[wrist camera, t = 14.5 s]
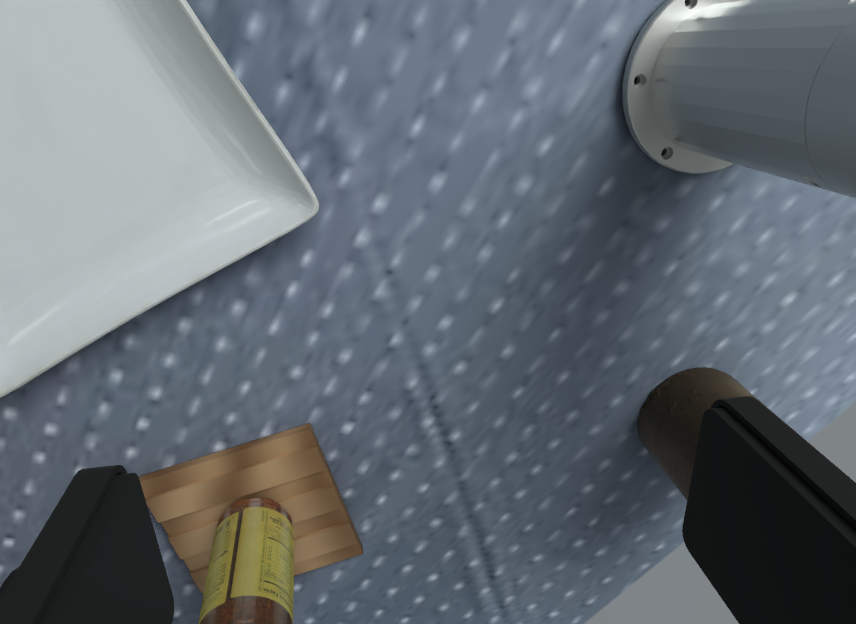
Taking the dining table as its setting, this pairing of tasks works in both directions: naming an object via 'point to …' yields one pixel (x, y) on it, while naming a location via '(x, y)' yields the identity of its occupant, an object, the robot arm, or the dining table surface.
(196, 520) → the trivet
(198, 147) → the square plate
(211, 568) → the sauce bottle
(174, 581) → the dining table surface
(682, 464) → the pillar candle
